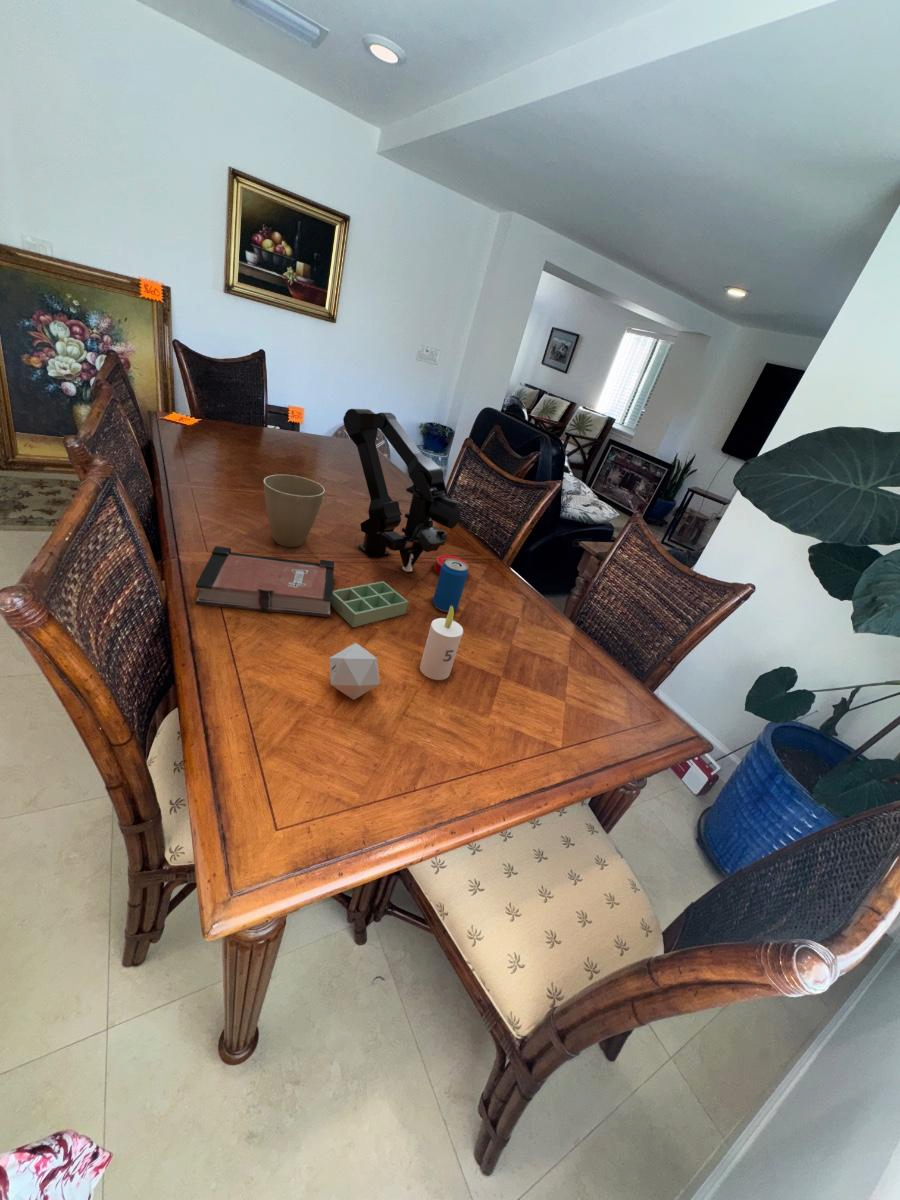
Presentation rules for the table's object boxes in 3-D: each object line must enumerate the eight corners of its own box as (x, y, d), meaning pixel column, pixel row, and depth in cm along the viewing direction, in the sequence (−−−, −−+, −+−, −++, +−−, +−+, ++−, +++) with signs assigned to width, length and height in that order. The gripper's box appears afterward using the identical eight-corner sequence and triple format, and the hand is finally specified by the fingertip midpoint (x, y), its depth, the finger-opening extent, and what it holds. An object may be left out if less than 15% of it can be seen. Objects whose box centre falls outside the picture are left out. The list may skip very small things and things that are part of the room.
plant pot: (274, 556, 121) (279, 496, 113) (250, 531, 129) (253, 474, 122) (328, 551, 131) (335, 495, 123) (302, 527, 139) (308, 474, 132)
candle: (426, 682, 93) (444, 618, 86) (415, 660, 98) (431, 598, 91) (455, 679, 96) (475, 617, 89) (443, 659, 101) (461, 598, 94)
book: (195, 605, 96) (194, 584, 94) (215, 565, 111) (215, 546, 108) (329, 618, 103) (332, 599, 101) (331, 579, 118) (334, 561, 115)
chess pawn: (412, 568, 134) (416, 552, 132) (412, 572, 132) (415, 556, 130) (402, 566, 134) (406, 550, 132) (401, 570, 131) (405, 554, 129)
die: (340, 668, 92) (317, 643, 84) (385, 656, 91) (366, 630, 83) (342, 710, 87) (319, 688, 79) (390, 697, 86) (371, 674, 78)
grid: (328, 604, 109) (330, 591, 107) (381, 593, 118) (383, 581, 117) (352, 627, 103) (355, 614, 101) (405, 613, 113) (408, 601, 111)
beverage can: (460, 606, 123) (472, 564, 117) (452, 616, 117) (464, 573, 111) (437, 597, 124) (448, 555, 118) (428, 607, 118) (439, 564, 112)
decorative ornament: (431, 562, 141) (433, 552, 139) (462, 566, 144) (465, 557, 142) (436, 578, 133) (439, 567, 131) (469, 582, 136) (472, 572, 134)
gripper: (411, 529, 114) (399, 586, 122) (465, 523, 127) (451, 575, 134) (384, 510, 120) (373, 565, 128) (438, 507, 133) (426, 557, 140)
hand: (407, 566), depth 132 cm, fingers closed on chess pawn, 2 cm apart
